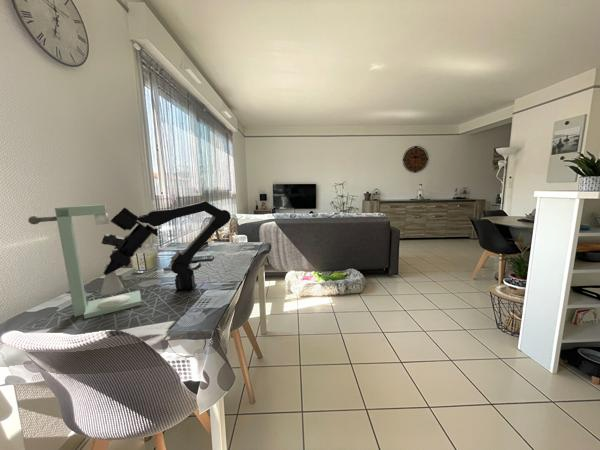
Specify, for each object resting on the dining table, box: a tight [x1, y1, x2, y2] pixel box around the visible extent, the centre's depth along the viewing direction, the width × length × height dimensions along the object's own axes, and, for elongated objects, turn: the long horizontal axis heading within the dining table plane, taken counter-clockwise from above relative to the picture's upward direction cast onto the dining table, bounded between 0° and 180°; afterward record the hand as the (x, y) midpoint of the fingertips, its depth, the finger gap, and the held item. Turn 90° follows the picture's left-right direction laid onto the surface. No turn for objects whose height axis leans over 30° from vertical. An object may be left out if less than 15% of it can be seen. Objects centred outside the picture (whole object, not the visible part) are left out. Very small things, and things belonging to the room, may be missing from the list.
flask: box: [99, 263, 125, 295], centre depth 92 cm, size 7×7×10 cm
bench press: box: [27, 204, 142, 320], centre depth 87 cm, size 26×12×36 cm, turn 124°
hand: (105, 273), depth 91 cm, fingers closed on flask, 3 cm apart
